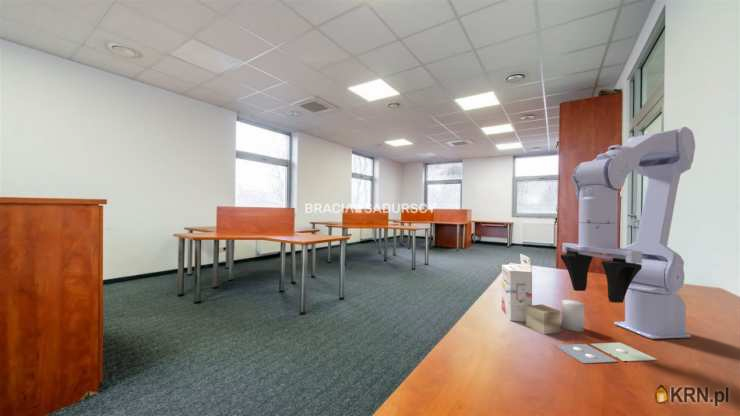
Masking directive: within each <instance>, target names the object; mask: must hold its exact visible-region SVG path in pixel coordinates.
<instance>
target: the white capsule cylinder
mask: <svg viewBox="0 0 740 416" xmlns="http://www.w3.org/2000/svg"><path fill="white" fill-rule="evenodd" d="M560 311H561V327H562V328H563V329H564V330H568V331H570V332H578V333H579V332H581V333H582V332H584V330H585V327H584V326H585V325H584V324H585V319H584V318H585V304H584V303H583V302H581V301H577V300H572V299H561V310H560Z"/></svg>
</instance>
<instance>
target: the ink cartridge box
mask: <svg viewBox="0 0 740 416" xmlns="http://www.w3.org/2000/svg"><path fill="white" fill-rule="evenodd" d="M519 259H520V265H519V264H501V310H502V311H503V313H504V314H505V316H506V317H507V319H508V320H510V322H521V323H526V306H530V305H533V271H532V260H531V257H528V256H527V255H524V254H523V253H520V254H519Z"/></svg>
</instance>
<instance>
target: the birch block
mask: <svg viewBox="0 0 740 416" xmlns="http://www.w3.org/2000/svg"><path fill="white" fill-rule="evenodd" d="M525 325H526V327H528V328H530V329H532V330H534V331H537V332H538V333H540V334H543V335H545V334H546V335H548V334H549V335H550V334H555V333H561V327H562V326H561V310H559V309H556V308H554V307H550V306H548V305H545V304H532V305H530V306H526V322H525Z"/></svg>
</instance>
